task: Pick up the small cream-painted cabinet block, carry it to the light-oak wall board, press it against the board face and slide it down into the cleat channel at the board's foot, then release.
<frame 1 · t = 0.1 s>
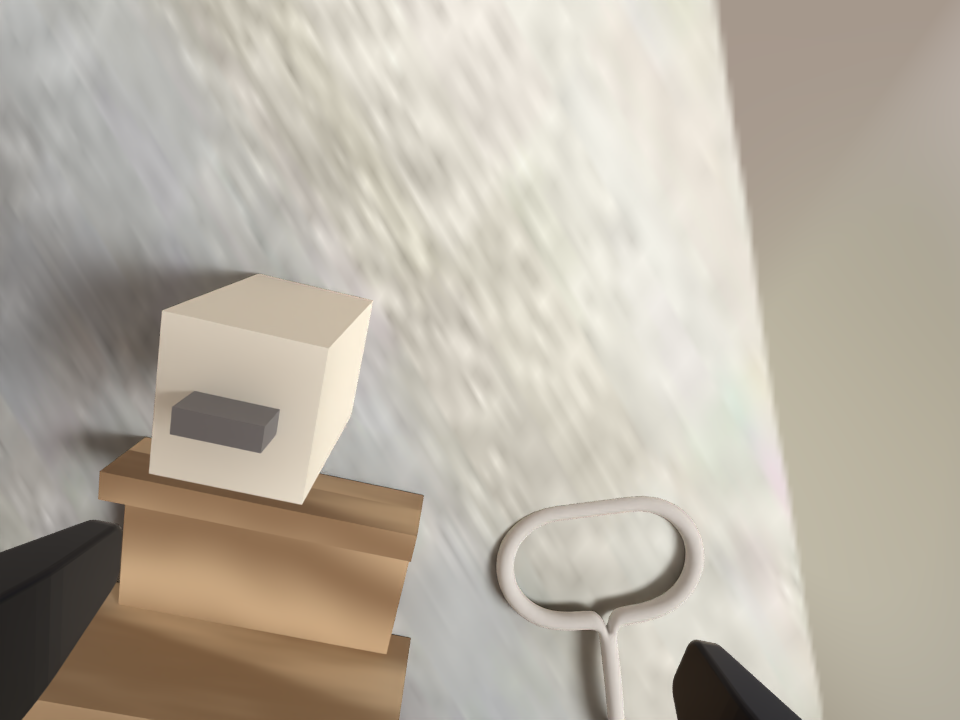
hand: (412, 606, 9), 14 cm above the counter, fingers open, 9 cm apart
hook: (605, 662, 28), on the counter
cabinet: (306, 346, 22), on the counter
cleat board: (262, 624, 26), on the counter
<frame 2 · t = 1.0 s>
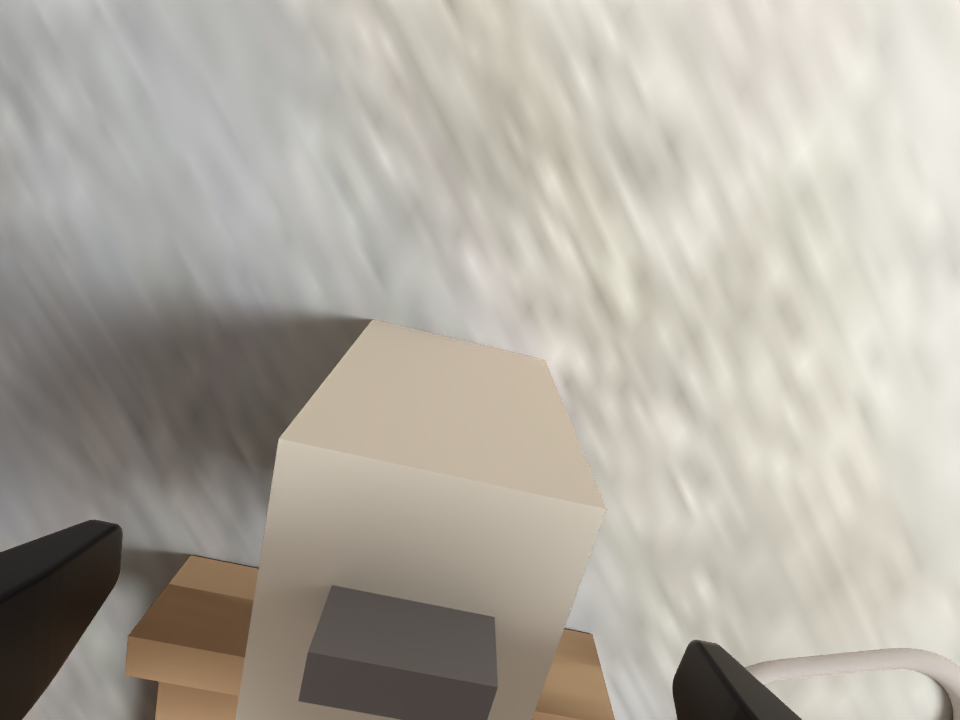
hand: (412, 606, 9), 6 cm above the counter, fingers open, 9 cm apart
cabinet: (438, 427, 15), on the counter
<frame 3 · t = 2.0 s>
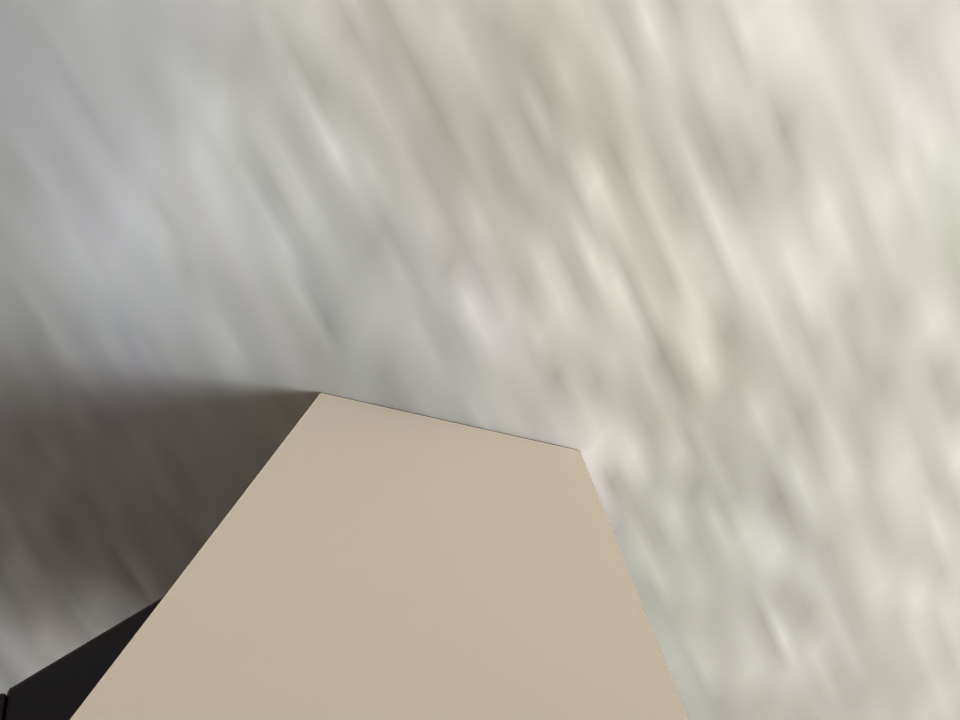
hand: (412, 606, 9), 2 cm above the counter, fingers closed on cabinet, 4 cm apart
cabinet: (421, 545, 10), on the counter, touching gripper
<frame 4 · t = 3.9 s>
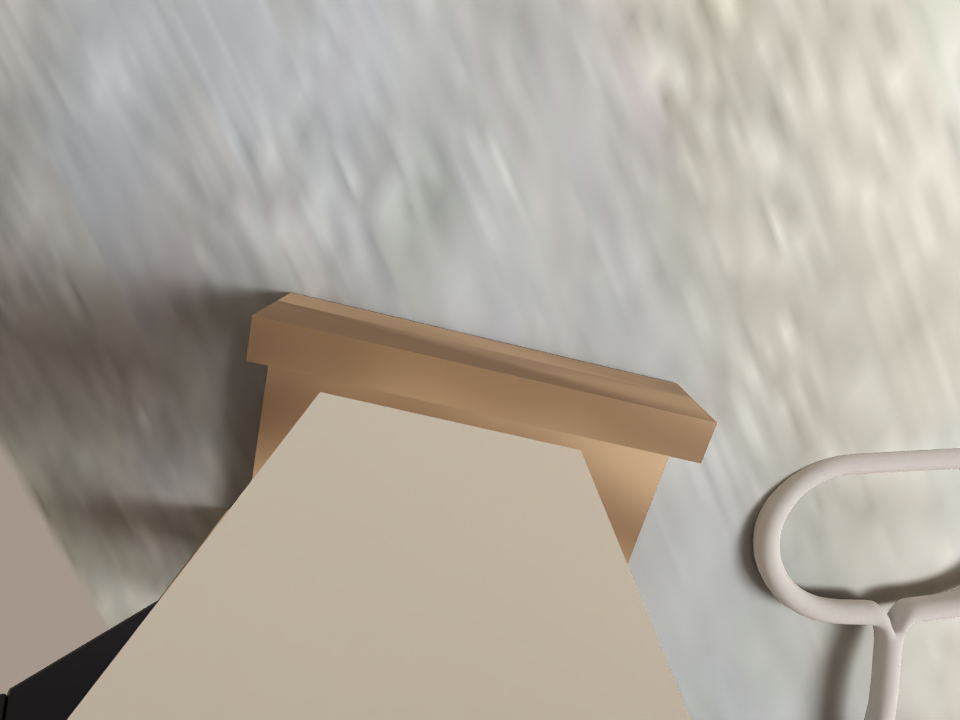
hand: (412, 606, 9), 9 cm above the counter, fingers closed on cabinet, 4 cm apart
hook: (847, 670, 22), on the counter
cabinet: (421, 545, 10), point 8 cm above the counter, touching gripper
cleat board: (429, 570, 19), on the counter
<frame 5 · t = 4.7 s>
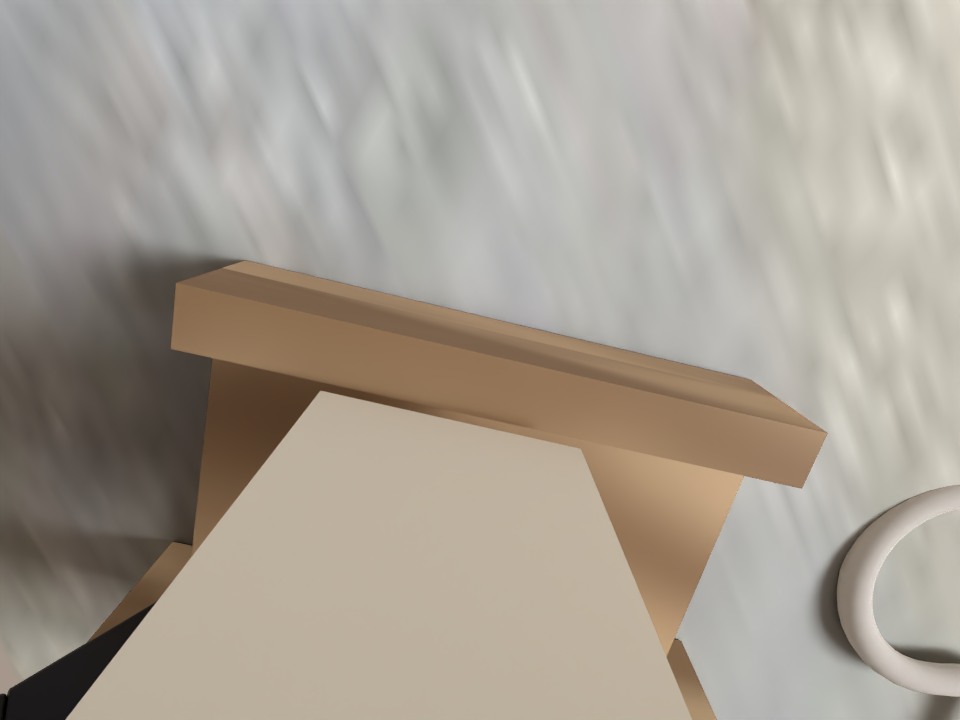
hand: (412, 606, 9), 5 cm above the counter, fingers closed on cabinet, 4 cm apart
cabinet: (422, 544, 10), point 4 cm above the counter, touching gripper
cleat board: (429, 616, 15), on the counter
when the fingers open (4 cm above the counter, at t = 5.6 s): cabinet drops 1 cm, resting on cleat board.
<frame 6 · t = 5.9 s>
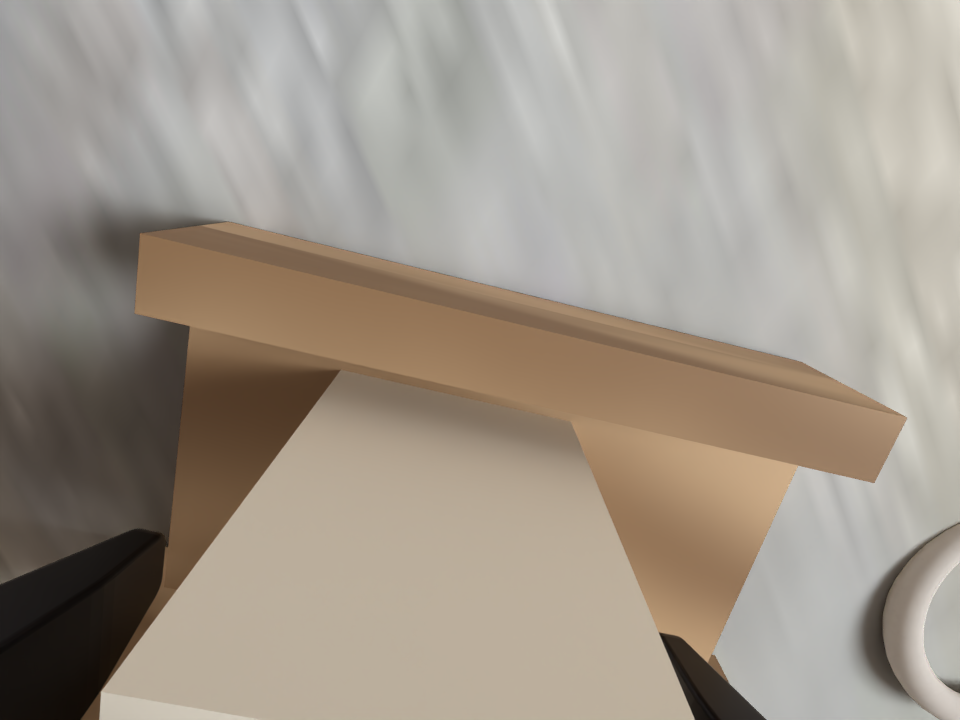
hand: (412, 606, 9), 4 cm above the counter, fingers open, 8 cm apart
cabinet: (430, 508, 11), point 1 cm above the counter, touching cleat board
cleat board: (435, 628, 14), on the counter
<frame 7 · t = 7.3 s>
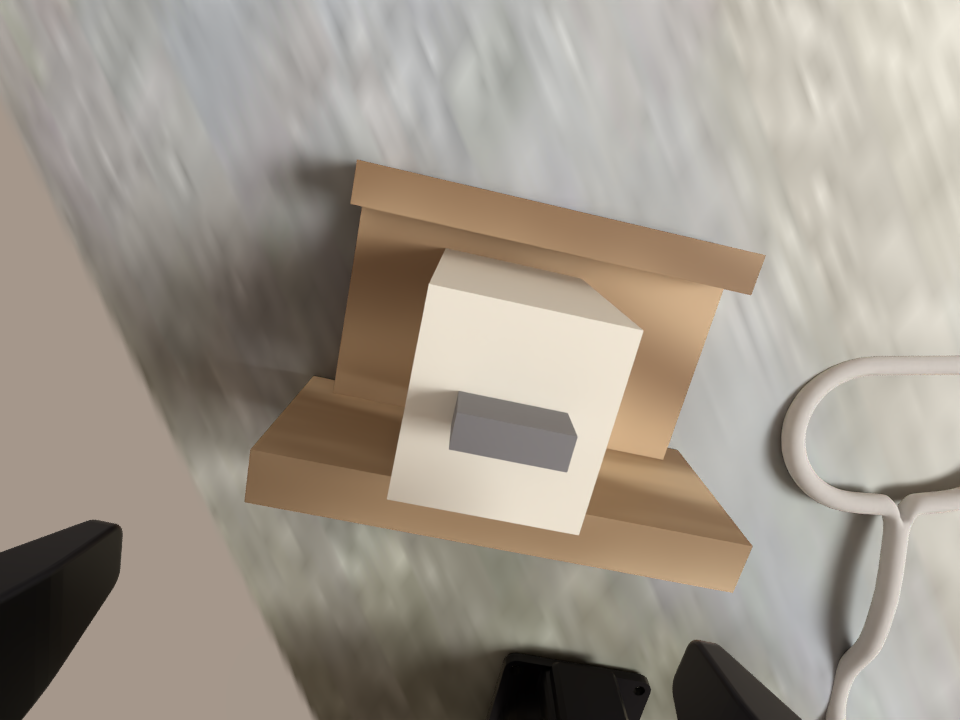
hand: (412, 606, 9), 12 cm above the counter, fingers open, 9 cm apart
hook: (854, 569, 24), on the counter
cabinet: (496, 336, 19), point 1 cm above the counter, touching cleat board
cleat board: (495, 433, 21), on the counter
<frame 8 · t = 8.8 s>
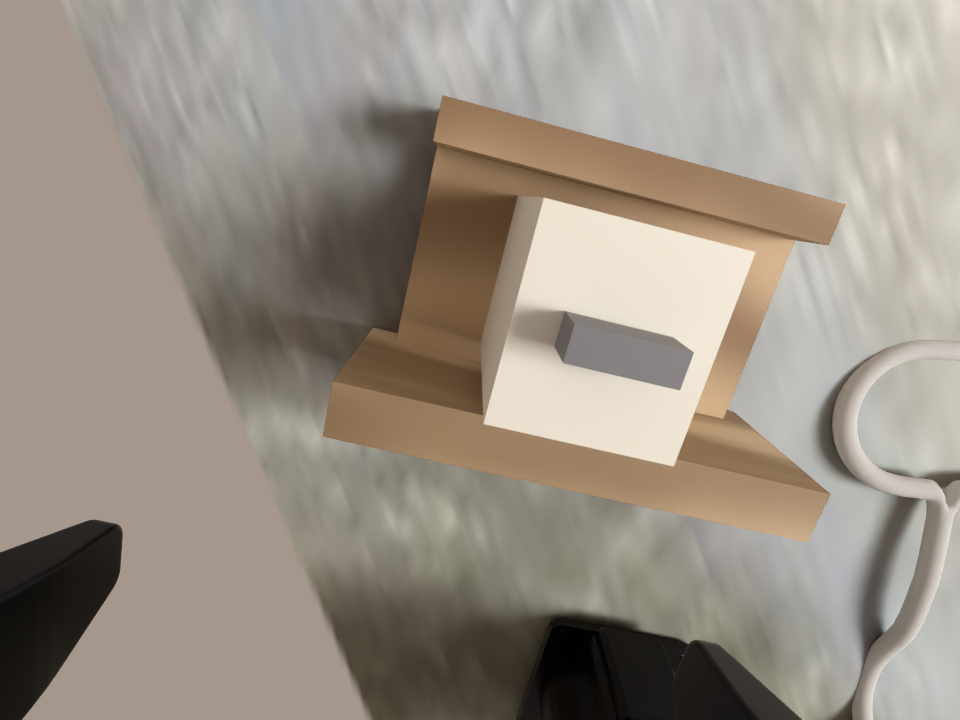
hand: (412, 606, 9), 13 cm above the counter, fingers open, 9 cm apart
hook: (891, 556, 24), on the counter
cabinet: (563, 287, 19), point 1 cm above the counter, touching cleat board
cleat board: (552, 390, 21), on the counter
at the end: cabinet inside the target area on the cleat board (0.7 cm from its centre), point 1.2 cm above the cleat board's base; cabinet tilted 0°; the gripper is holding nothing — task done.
